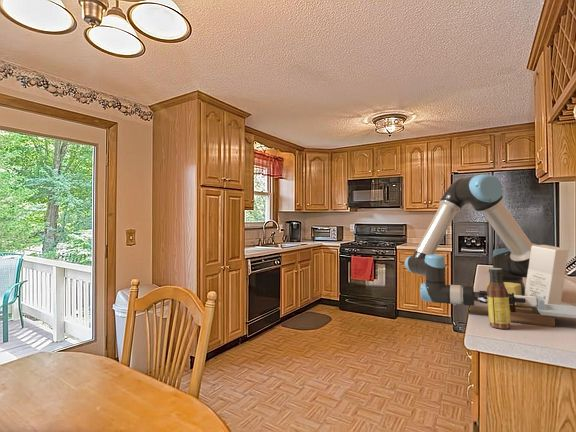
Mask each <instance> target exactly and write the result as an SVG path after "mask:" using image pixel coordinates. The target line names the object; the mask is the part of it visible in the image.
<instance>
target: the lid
mask: <svg viewBox="0 0 576 432" xmlns="http://www.w3.org/2000/svg"><path fill="white" fill-rule="evenodd" d="M535 297H536V299H537V305H535V307H536V308H537V310H538V311H539V313H540V314H541V315H547V316H554V317H557V318H558V317H560V318H561V317H562V318H571V319H576V305H568V304H560V305H557V304H544V300H543V299H542V298H541V296H535Z"/></svg>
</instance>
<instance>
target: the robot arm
mask: <svg viewBox="0 0 576 432" xmlns="http://www.w3.org/2000/svg"><path fill="white" fill-rule="evenodd" d="M503 193H504V190H503V184H502V182H501V180H500V179H499V178H498V177H496V176H495V175H493V174H489V173H488V174H487V173H486V174H477V175H474V176H473V175H472V176H469V177H462V178H460V179H457V180H455V181H453V182H452V184H450V186H449V187H448V188H447V189H446V190H445V191H444V193H443V195H442V196H441V198H440V200H439V202H438V205H439V207H438V208H437V210H436V212H435V214H434V216H433V218H432V219H431V221H430V223H429V225H428V226H427V229H426V231H425V232H424V234H423V236H422V238H421V240H420V241H419V243H418V245H417V247H416V249H415V251H414V253H412V254H413V255H409V256H408V257H406V258H405V260H404V267H405V269H406V270H407V271H408V272H409V273H412V274H417V275H422V276H425V282H422V283H421V284H420V288H419V289H420V290H419V292H420V293H419V294H420V299H421V301H423V302H429V303H435V304H436V303H437V304H439V303H440V304H450V305H453V306H454V307H455V306H457V305H459V306H460V305H462V304H463V305H464V306H469V307H470V306H471V307H473V306H474V305H475V301H476V302H479V303H481V304H484V305H485V304H486V305H488V300H487V291H486V290H479V291H475V289H474V286H472V285H463V286H462V285H461V284H447V283H446V282H447V281H446V260H445V259H446V258H445V256H444V255H443V254H435V253H436V251H437V249H438V247H439V246H440V244H441V242H442V240H443V239H444V236H445V234H446V232H447V231H448V228H449V227H450V225H451V223H452V221H453V220H454V218H455V216H456V215H457V213H460V211H461V210H462V208H463V207H464V206H466V205H471V206H472V207H473V209H474V210H475V212H479V213H482V215H483V217H485V219H486V220H487V221H488V223H489V225H490V226H491V227H492V229H493V230H494V231H495V233H496V234H497V235H498V237H499V239H500V240H501V241H502V242H503V243H504V246H506V247H505V248H504V247H502V248H495V249H493V251H492V268H501V269H502V270H503V273H502V277H503V282H510V283H517V284H521V293H522V296H519V295H514V293H512V295H511V294H508V296H509V304H513V305H515V303H518V304H522V305H523V304H530V305H537V299H536V297H533V296H524V295H525V288H526V284H524V280H523V279H524V278H525V279H527V274H528V267H529V260H530V253H531V246H533V245H538V244H537V243H532V242H531V240H530V239H529V238H528V236H527V235H526V234H525V232H524V231H523V229H522V228H521V227H520V225H519V223H518V222H517V221H516V219H515V218H514V216H513V215H512V214H511V213H510V210H508V208H507V207H506V206H505V204H504V203H503V202H502V201H503V199H504V197H503Z"/></svg>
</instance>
